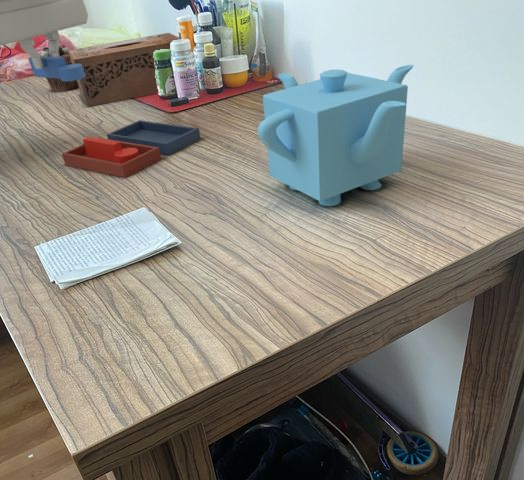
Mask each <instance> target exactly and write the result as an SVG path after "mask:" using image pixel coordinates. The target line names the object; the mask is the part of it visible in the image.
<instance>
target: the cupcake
mask: <svg viewBox="0 0 524 480" xmlns="http://www.w3.org/2000/svg"><path fill="white" fill-rule="evenodd" d="M68 50H70V48H69V47H67V46H65V45H63V46H59V51H58V53H59V56H60V57H64V58H65V61H66V65H69V64H72V62H71V59H70V56H69V52H68ZM47 52H49V47H44V48H43V49H42V52H40V55H44V56H46V54H45V53H47ZM45 79H46V81H47V83H48V85H49V87H50V89H51V91H52V92H54V93H55V92H56V93H57V92H58V93H61V92H68V91H72V90H76V89H79V86H78V82H77V80H74V81H62V80H61V79H59V78H45Z"/></svg>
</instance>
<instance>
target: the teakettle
mask: <svg viewBox="0 0 524 480" xmlns="http://www.w3.org/2000/svg"><path fill="white" fill-rule="evenodd" d="M414 67H415V66H414V64H407V65H403V66H399V67H397V68H395V69H394V70H393V71H391V73H390V75H389V76H388V78H387V80H384V79H380V78H377V77H376V78H375V77H371V76H366V75H361V74H357V73H351V72H348V71H346V70H344V69H328V70H325V71H323V72H320V74H319V79H316V80H312V81H309V82H304V83H301V84H299V83H298V81H297V79H296V78H295V77H294V76H293V75H291V74H289V73H283V72H282V73H278V74H277V78H278V79H279V80H280V82H282V85H283V89H280V90H275V91H272V92H269V93H266V94H263V96H262V103H263V104H262V105H263V114H264V115H263V116H264V119H263V120H262V121H261V122H260V123H259V125H258V127H257V135H258V137H259V139H260V141H261V142H262V144H263V145H264V146H265V147H266V148H267V159H268V170H269V177H271V178H273V179H275V180H277V181H278V182H281V183H283V184H285V185H287V186H288V188H289V189H290V190H292V191H299V192H301V193H303V194H304V195H307V196H308V197H311V198H312V199H314V200H317V201H318V204H319V205H321V206H323V207H333V206H337V205H339V204H340V203H341V202H342V198H341V197H342V196H341V194H344V193H346V192H348V191H351V190H354V189H356V188H360V189H361V190H365V191H375V190H378V189H380V188H381V187H382V183H380V181H379V180H380V179H383V178H385V177H388V176H391V175H394V174H396V173H399V172H402V167H403V155H404V141H405V129H406V128H405V127H406V117H407V115H406V114H407V104H408V103H407V102H408V91H409V90H408V89H409V87H408V85H407V84H403V80H405V77H406V76H407V75H408V74H409V72H410V71H412V69H413V68H414Z"/></svg>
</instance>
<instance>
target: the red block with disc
mask: <svg viewBox="0 0 524 480" xmlns="http://www.w3.org/2000/svg"><path fill="white" fill-rule="evenodd" d="M100 138H101V137H93V136H86V137H84V138H82V143H83V144H84V146H85V149H86V153H87V156H89V157H94V158H99V159H105V160H110V161H115V162H117V163H120V164H123V163H125V162H127V161H129V160H131V159H133V158H135V157H137V156H139V152H138V149H137V148H125V149H122V147H121V143H120V142H118V141H112V140H106V139H107V138H104V139H100Z"/></svg>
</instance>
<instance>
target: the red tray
mask: <svg viewBox="0 0 524 480" xmlns="http://www.w3.org/2000/svg"><path fill="white" fill-rule="evenodd" d="M99 138H100V139H106V140H110V139H108V138H103V137H99ZM112 141H116V140H112ZM118 142H120V143H121V147H122V149H125V148H137V149H138V152H139V156H137V157H135V158H133V159H131V160H129V161H127V162H125V163H123V164H120V163H117V162H115V161H110V160H105V159H99V158H94V157H89V156H87V153H86V149H85V146H84V143H83V144H81V145H78V146H76V147H74V148H71V149H69V150H67V151H65V152H62V153H61V156H62V159H63V163H64V165H65V166H69V167H74V168H78V169H83V170H88V171H92V172H96V173H97V172H98V173H101V174H106V175H111V176H115V177H120V178H128V177H129V176H131V175H133V174H135V173H137V172H139V171H141V170H143V169H145V168H147V167H149V166H151V165H153V164H155V163H157V162H159V161H160V160H162V154H160V149H159V147H153V146H147V145H141V144H135V143H128V142H122V141H118Z"/></svg>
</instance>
